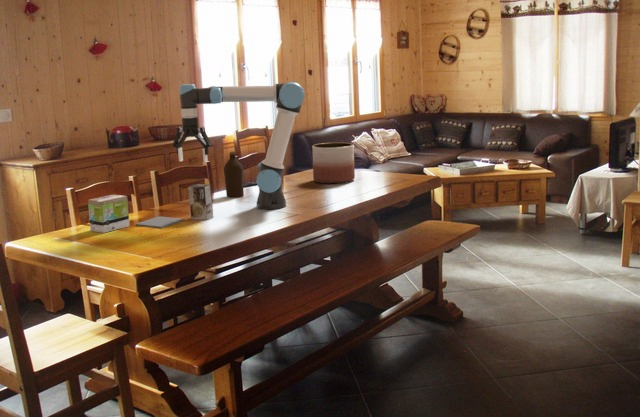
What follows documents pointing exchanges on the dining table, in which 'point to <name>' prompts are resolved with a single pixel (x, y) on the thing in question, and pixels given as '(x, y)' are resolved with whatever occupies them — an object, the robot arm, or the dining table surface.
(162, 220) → the charcoal mat
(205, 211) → the coffee box
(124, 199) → the tea box
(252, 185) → the remote control
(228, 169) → the olive oil
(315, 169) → the planter
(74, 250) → the dining table surface
